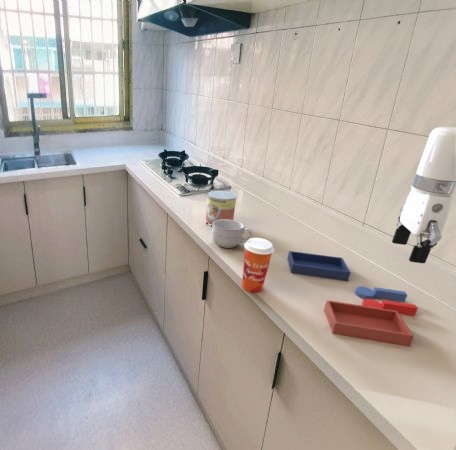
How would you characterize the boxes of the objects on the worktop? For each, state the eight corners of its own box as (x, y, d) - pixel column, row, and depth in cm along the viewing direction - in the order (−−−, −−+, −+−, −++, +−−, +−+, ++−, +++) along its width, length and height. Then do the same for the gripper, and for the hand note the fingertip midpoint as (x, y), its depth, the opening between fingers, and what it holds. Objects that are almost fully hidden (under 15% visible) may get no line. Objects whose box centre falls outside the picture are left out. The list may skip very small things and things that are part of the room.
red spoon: (409, 308, 89) (412, 301, 88) (417, 319, 85) (420, 311, 84) (359, 301, 91) (361, 293, 90) (365, 311, 87) (367, 303, 86)
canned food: (199, 221, 139) (202, 193, 134) (216, 215, 146) (219, 188, 141) (221, 230, 131) (225, 201, 126) (238, 223, 138) (242, 195, 133)
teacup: (205, 245, 119) (207, 224, 116) (218, 234, 127) (220, 215, 124) (242, 257, 112) (246, 235, 109) (254, 245, 120) (257, 225, 117)
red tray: (393, 320, 84) (397, 310, 83) (409, 346, 76) (414, 336, 75) (323, 309, 87) (326, 300, 86) (332, 333, 79) (335, 323, 78)
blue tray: (340, 265, 109) (342, 257, 108) (348, 281, 100) (350, 272, 99) (287, 258, 112) (289, 250, 111) (290, 273, 104) (292, 264, 102)
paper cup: (236, 291, 94) (243, 246, 88) (240, 277, 100) (247, 234, 95) (265, 298, 91) (274, 252, 86) (267, 283, 98) (276, 240, 92)
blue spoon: (399, 295, 94) (402, 288, 93) (407, 305, 90) (410, 298, 89) (352, 288, 97) (355, 281, 96) (357, 298, 93) (360, 290, 92)
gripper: (476, 198, 67) (443, 272, 74) (432, 176, 82) (408, 239, 89) (434, 194, 68) (405, 267, 75) (398, 173, 84) (377, 235, 91)
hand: (407, 252), depth 82 cm, fingers open, 9 cm apart
